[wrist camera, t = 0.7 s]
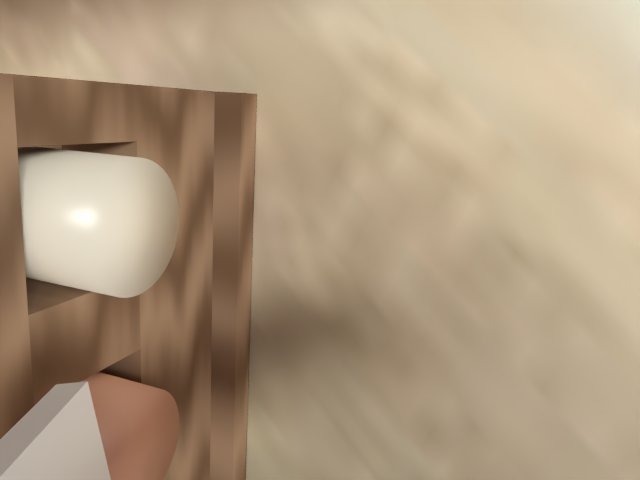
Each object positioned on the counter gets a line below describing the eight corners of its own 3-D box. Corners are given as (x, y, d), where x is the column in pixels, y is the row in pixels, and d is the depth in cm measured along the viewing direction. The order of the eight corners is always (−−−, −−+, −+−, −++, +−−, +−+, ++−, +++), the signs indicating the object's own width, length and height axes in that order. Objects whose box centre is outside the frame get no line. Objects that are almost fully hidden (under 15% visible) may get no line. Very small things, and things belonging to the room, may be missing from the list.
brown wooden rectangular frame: (142, 88, 31) (-224, 59, 16) (256, 94, 28) (-56, 66, 14) (149, 530, 37) (-110, 790, 23) (243, 566, 35) (18, 885, 20)
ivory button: (8, 137, 25) (-112, 140, 21) (179, 153, 22) (80, 162, 17) (16, 246, 26) (-97, 273, 22) (179, 277, 23) (86, 316, 18)
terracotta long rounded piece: (21, 328, 27) (-86, 369, 23) (179, 368, 24) (90, 426, 19) (28, 422, 28) (-73, 479, 24) (179, 473, 25) (96, 551, 21)
